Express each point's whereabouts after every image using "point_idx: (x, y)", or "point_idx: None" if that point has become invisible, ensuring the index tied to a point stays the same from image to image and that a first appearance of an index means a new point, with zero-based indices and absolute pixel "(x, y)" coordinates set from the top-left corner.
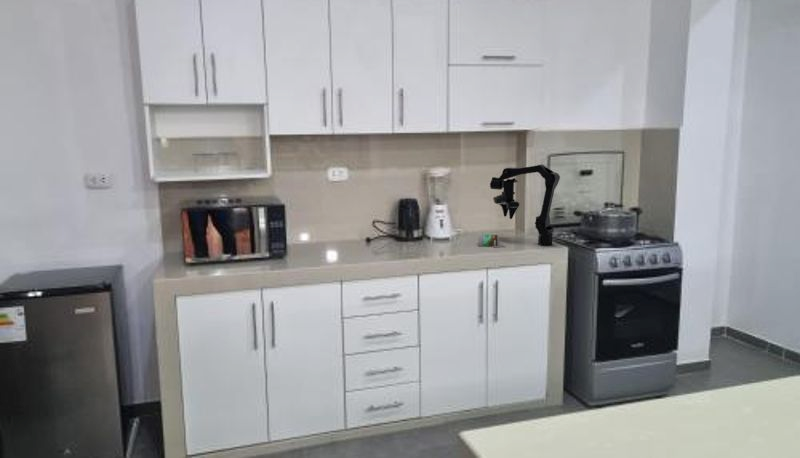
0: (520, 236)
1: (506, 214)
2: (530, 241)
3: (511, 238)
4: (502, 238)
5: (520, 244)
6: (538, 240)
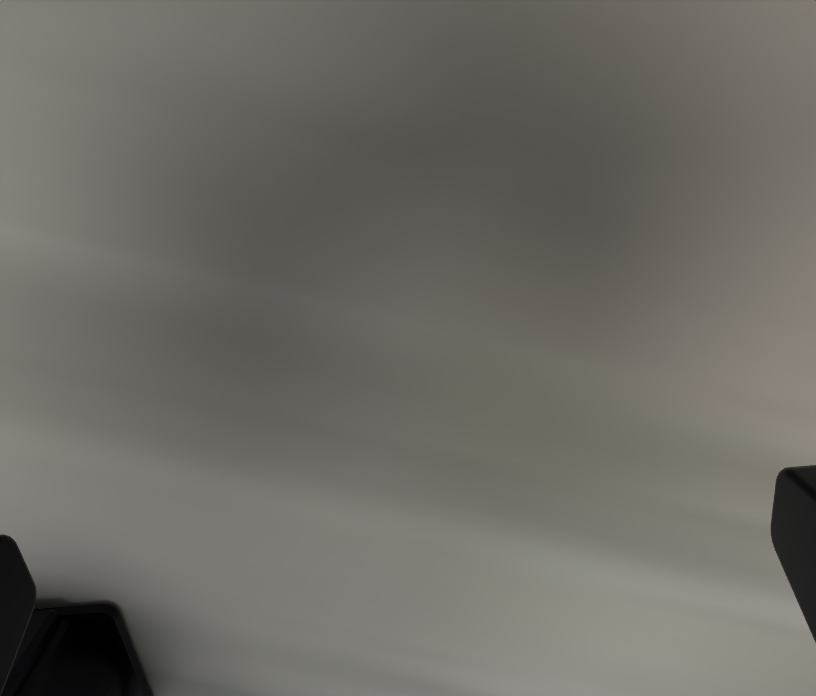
0: (720, 524)
1: (813, 624)
2: (289, 557)
3: (578, 348)
4: (614, 180)
5: (30, 366)
6: (22, 642)
